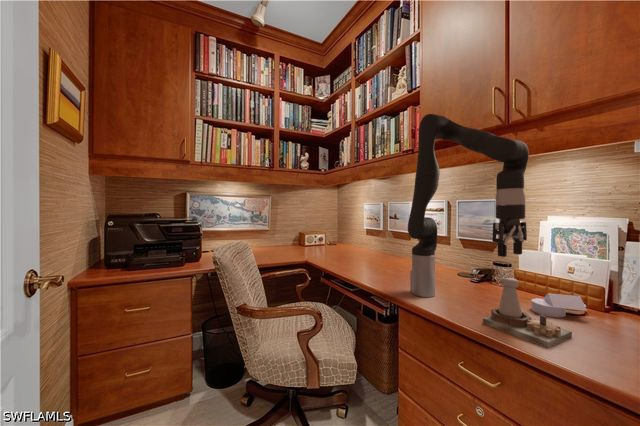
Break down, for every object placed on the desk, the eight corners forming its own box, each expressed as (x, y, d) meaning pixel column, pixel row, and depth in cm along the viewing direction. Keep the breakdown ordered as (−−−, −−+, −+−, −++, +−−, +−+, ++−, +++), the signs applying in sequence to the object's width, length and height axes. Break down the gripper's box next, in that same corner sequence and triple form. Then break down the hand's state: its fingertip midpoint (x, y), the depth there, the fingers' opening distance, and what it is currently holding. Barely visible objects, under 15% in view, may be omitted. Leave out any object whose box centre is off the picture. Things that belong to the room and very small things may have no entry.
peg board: (482, 323, 82) (482, 305, 82) (506, 315, 88) (506, 298, 88) (548, 347, 67) (548, 326, 67) (571, 336, 73) (571, 316, 73)
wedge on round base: (573, 311, 91) (528, 306, 97) (573, 292, 91) (528, 288, 97) (587, 321, 83) (536, 314, 88) (587, 300, 83) (536, 295, 88)
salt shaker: (519, 325, 77) (519, 282, 77) (496, 319, 81) (496, 278, 81) (523, 319, 81) (523, 278, 81) (501, 314, 85) (501, 275, 85)
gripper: (509, 204, 87) (509, 252, 87) (483, 204, 81) (484, 255, 81) (536, 203, 81) (536, 255, 81) (510, 203, 74) (510, 259, 74)
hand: (510, 255), depth 81 cm, fingers open, 8 cm apart
